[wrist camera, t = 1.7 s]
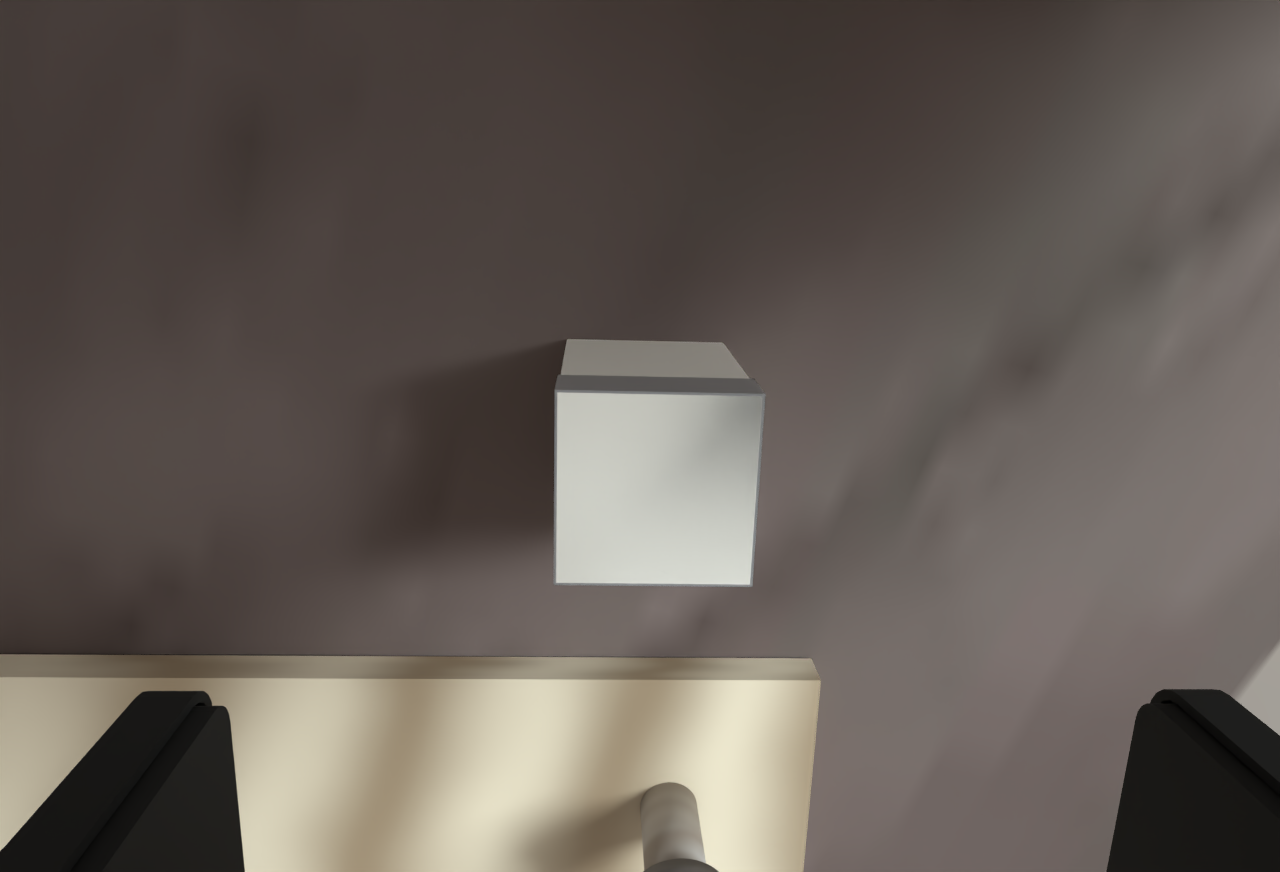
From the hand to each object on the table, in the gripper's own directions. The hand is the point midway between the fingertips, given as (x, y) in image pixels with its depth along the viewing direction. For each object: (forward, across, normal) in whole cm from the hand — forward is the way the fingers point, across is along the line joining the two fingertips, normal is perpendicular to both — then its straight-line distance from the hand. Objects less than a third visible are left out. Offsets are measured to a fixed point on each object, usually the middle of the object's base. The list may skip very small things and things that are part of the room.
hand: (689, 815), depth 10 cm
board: (+16, +7, +14) cm, 22 cm away
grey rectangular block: (+16, 0, 0) cm, 16 cm away
